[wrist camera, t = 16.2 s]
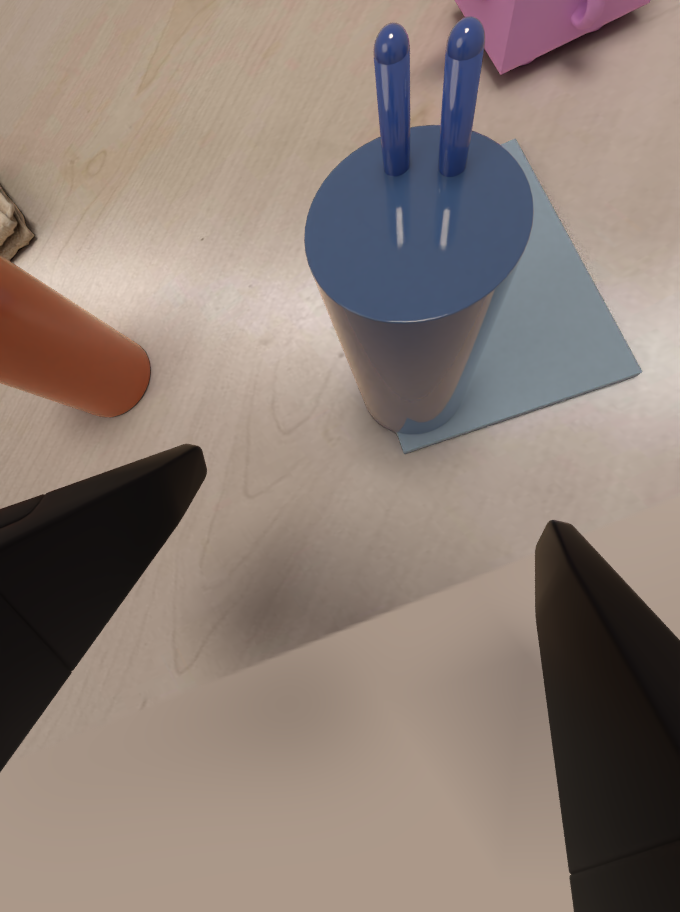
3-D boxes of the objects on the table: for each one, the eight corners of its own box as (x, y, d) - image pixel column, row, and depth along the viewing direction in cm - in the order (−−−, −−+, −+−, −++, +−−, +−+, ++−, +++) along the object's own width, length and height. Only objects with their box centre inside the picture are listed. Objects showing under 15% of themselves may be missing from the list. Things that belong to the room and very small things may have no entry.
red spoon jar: (157, 400, 27) (-186, 237, 12) (84, 429, 28) (-327, 312, 12) (143, 327, 29) (-179, 95, 13) (74, 356, 29) (-306, 171, 14)
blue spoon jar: (456, 443, 22) (563, 245, 6) (352, 425, 23) (230, 228, 8) (474, 344, 23) (608, -49, 7) (373, 332, 24) (301, -14, 8)
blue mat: (636, 376, 21) (643, 372, 20) (404, 454, 23) (403, 452, 22) (513, 146, 25) (515, 137, 25) (324, 228, 27) (322, 222, 26)
